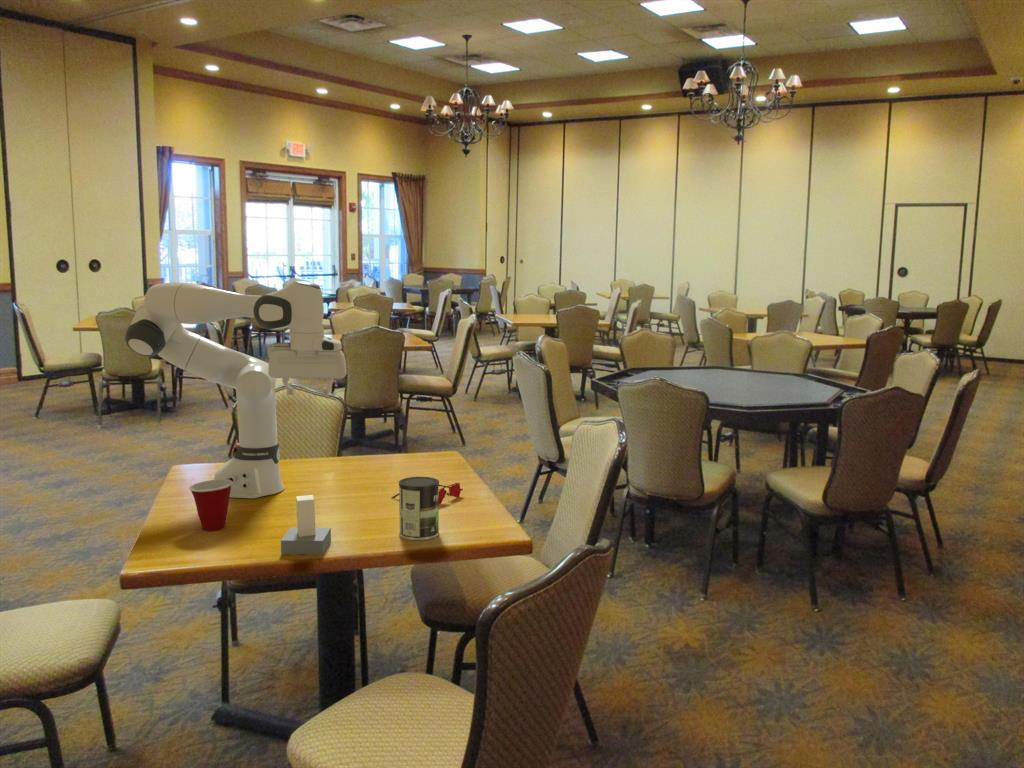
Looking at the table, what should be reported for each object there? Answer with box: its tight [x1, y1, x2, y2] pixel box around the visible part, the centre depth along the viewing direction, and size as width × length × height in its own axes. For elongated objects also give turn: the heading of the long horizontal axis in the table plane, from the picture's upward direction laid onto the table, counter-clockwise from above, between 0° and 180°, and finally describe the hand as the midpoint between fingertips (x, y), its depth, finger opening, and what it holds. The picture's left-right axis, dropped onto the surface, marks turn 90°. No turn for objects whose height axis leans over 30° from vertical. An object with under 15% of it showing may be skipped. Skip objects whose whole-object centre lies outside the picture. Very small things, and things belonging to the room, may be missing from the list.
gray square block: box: [280, 526, 332, 556], centre depth 211 cm, size 10×10×4 cm
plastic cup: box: [188, 479, 233, 532], centre depth 224 cm, size 11×11×12 cm
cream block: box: [295, 494, 316, 537], centre depth 210 cm, size 4×4×9 cm
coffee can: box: [398, 476, 440, 541], centre depth 222 cm, size 10×10×14 cm
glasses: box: [391, 482, 464, 505], centre depth 256 cm, size 14×16×5 cm
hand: (308, 394), depth 229 cm, fingers open, 8 cm apart
